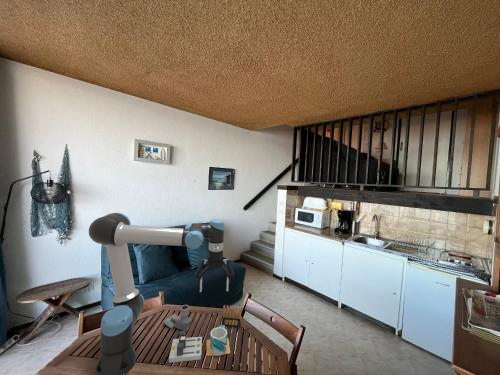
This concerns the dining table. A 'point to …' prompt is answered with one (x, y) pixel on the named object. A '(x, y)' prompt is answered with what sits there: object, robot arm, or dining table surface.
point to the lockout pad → (211, 353)
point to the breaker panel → (187, 350)
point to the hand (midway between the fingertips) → (214, 290)
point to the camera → (179, 320)
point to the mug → (218, 340)
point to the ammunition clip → (231, 317)
